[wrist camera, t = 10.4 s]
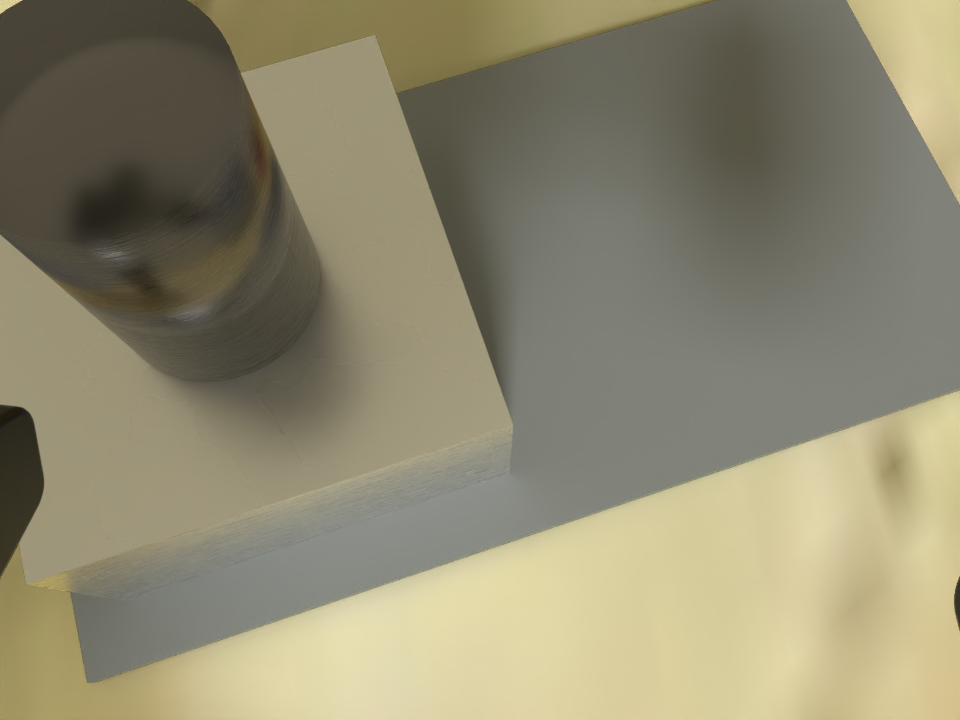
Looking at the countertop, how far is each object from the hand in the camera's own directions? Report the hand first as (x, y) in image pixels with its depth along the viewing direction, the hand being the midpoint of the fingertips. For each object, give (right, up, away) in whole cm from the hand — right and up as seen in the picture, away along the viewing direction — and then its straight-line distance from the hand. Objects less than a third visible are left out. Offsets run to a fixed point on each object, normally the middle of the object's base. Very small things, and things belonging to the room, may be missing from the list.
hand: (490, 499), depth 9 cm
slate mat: (+1, +3, +14) cm, 15 cm away
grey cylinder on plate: (-5, +1, +13) cm, 14 cm away
